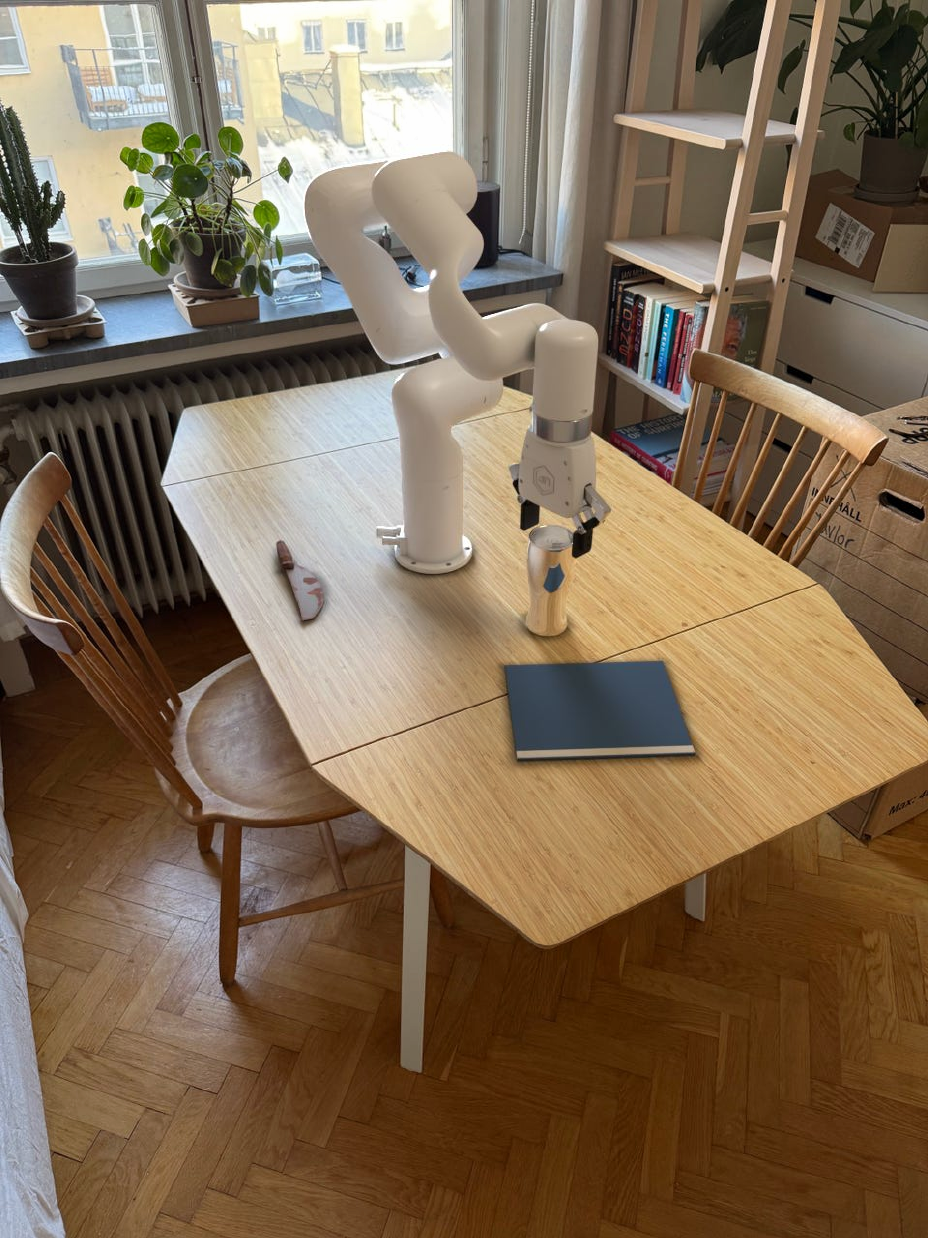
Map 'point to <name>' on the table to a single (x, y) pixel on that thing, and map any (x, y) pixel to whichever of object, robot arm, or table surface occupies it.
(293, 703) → the table surface
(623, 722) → the blue hardcover book
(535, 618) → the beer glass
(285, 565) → the kitchen knife
